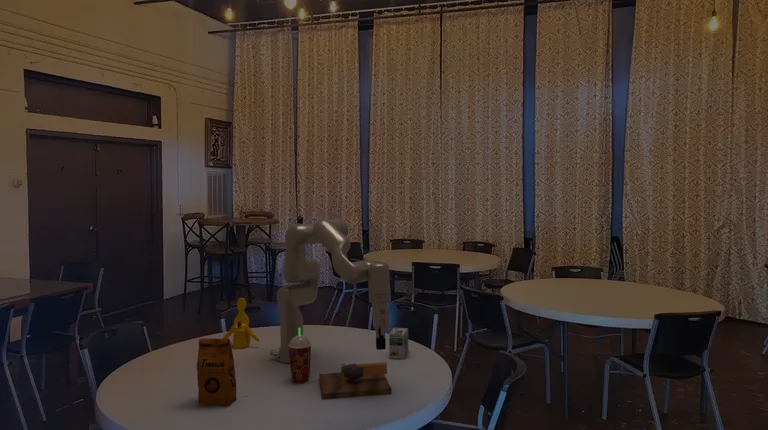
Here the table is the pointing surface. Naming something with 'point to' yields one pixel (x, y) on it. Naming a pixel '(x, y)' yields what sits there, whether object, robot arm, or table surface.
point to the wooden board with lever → (352, 385)
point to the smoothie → (300, 358)
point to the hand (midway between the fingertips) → (380, 348)
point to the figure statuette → (241, 328)
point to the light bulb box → (398, 343)
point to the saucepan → (364, 369)
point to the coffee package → (216, 372)
